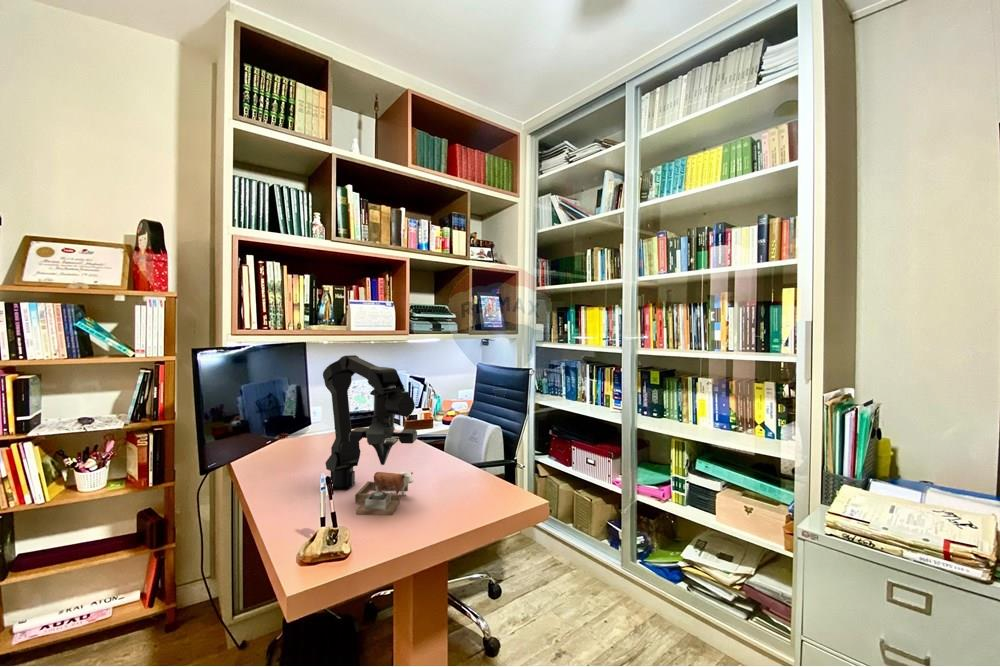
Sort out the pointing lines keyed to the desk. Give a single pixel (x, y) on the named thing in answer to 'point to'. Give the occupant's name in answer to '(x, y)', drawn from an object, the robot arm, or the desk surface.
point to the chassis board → (377, 501)
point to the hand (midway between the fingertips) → (383, 464)
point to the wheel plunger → (378, 496)
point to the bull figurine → (392, 480)
